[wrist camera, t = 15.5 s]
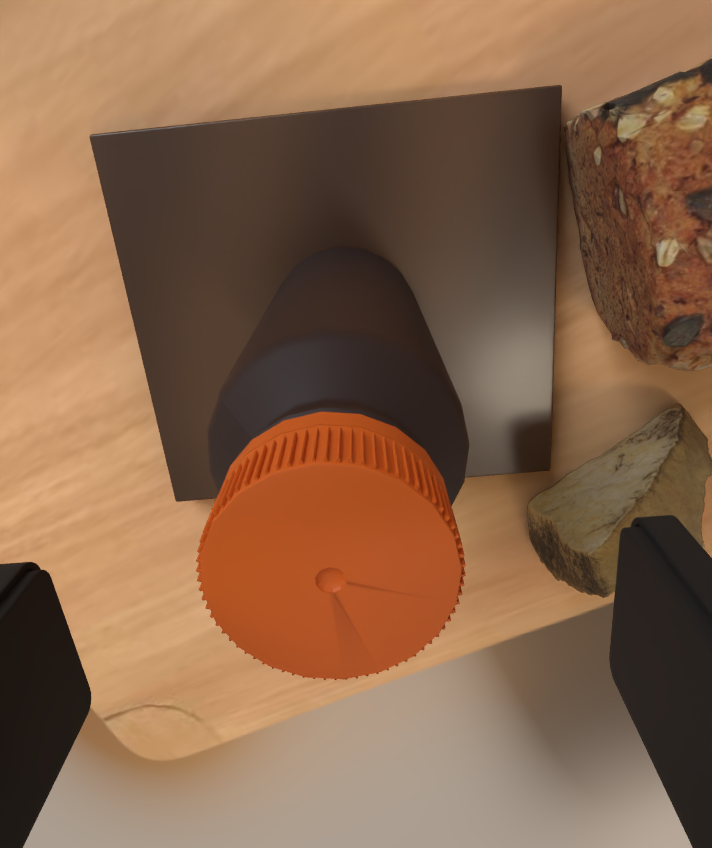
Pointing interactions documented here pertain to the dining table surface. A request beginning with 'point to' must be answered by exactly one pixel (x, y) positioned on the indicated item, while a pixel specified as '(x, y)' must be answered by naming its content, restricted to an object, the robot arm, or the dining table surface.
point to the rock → (621, 500)
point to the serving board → (349, 228)
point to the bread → (649, 216)
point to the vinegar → (336, 477)
